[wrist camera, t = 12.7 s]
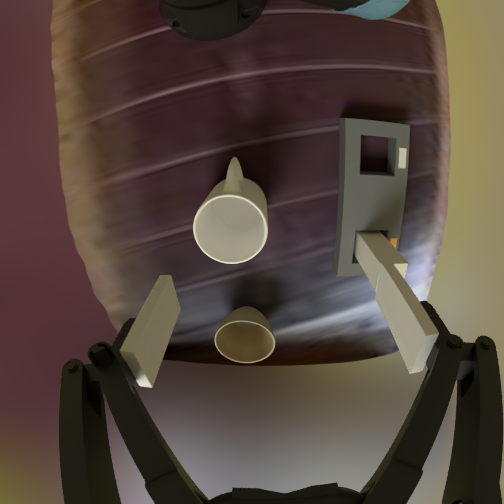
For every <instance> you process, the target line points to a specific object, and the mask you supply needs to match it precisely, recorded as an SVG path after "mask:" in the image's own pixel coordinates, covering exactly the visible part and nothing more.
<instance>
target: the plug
mask: <svg viewBox="0 0 504 504" xmlns="http://www.w3.org/2000/svg"><path fill="white" fill-rule="evenodd" d="M353 254H354V255H355V257H356V259H357V260H358V262H359V264H360V265H361V267H362V269H363V270H364V272H365V274H366V276H367V277H368V279H369V281H370V283H371V285H372V286H373V288H374V290H375V292H376V291H377V285H378V279H379V273H380V266H381V262H392V263H393V264H394V265H395V267H396V268H397V270H398V271H399V272H400V274H401V275H402V277H403V278H404V279H405V274H406V270H407V266H408V263H407V261H406V260H405V259H404V258H403V257H402V256H401V254H400V253H399V252H398V251H397V250H396V249H395V248H394V246H393V245H392V244H391V243H390V242H389V241H388V240H387V239H386V237H385V236H384V235H383V234H382V233H381V232H380V231H379V230H357V231H355V241H354V250H353Z"/></svg>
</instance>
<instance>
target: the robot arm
mask: <svg viewBox="0 0 504 504" xmlns="http://www.w3.org/2000/svg"><path fill="white" fill-rule="evenodd" d="M265 1H266V0H159V10H160V13H161V16H162V18H163V19H164V21H165V22H166V23H167V25H169V26H170V27H171V28H172V29H173V30H174V31H175V32H177V33H178V34H180V35H182V36H184V37H187V38H191V39H195V40H217V39H223V38H226V37H230V36H232V35H235V34H237V33H239V32H241V31H243V30H244V29H246V28H247V27H249V26H250V25H251V24H252V23H254V22H255V21H256V19H257V18H258V17H259V16H260V14H261V13H262V11H263V8H264V6H265ZM299 1H304V2H308V3H312V4H316V5H320V6H324V7H328V8H330V9H331V10H332V11H335V12H338V13H348V14H352V15H355V16H358V17H361V18H364V19H369V20H374V19H375V20H378V19H384V18H387V17H390V16H392V15H394V14H395V13H397V12H398V11H400V10H401V9H402V8H403V7H404V6H405V5H406V4H407V3H408V2H409V1H410V0H299ZM375 299H376V301H377V303H378V305H379V307H380V309H381V311H382V313H383V315H384V317H385V319H386V322H387V324H388V326H389V328H390V330H391V332H392V334H393V337H394V339H395V341H396V343H397V346H398V348H399V350H400V352H401V355H402V357H403V359H404V362H405V364H406V366H407V369H408V371H409V373H410V374H411V373H415V372H420V371H422V370H423V368H424V365H425V364H426V365H427V367H428V371H427V372H426V374H425V376H424V378H423V380H422V384H421V387H420V389H419V392H418V394H417V396H416V398H415V401H414V403H413V405H412V407H411V409H410V411H409V414H408V415H407V417H406V419H405V421H404V423H403V425H402V427H401V429H400V431H399V433H398V435H397V437H396V439H395V440H394V442H393V444H392V445H391V448H390V449H389V451H388V453H387V454H386V456H385V458H384V459H383V461H382V462H381V464H380V466H379V467H378V469H377V470H376V472H375V473H374V475H373V476H372V477H371V479H370V480H369V481H368V482H367V484H366V485H365V486H364V488H363V489H362V490H361V492H360V493H359V492H357V491H355V490H352V489H349V488H344V487H338V485H337V483H331V484H324V485H315V486H310V487H307V488H303V489H300V490H297V491H293V492H290V493H279V492H273V491H268V490H263V489H258V488H233V490H232V492H229V493H225V494H221V495H219V496H216V497H214V498H212V499H211V500H208V498H207V497H206V496H205V495H204V494H203V492H202V491H201V490H200V489H199V488H198V487H197V486H196V485H195V483H194V482H193V481H192V479H191V478H190V477H189V475H188V474H187V472H186V471H185V470H184V468H183V467H182V465H181V464H180V463H179V461H178V460H177V458H176V457H175V455H174V454H173V452H172V451H171V449H170V448H169V446H168V445H167V443H166V441H165V440H164V438H163V437H162V435H161V433H160V432H159V430H158V428H157V427H156V425H155V423H154V422H153V420H152V418H151V416H150V415H149V413H148V411H147V409H146V407H145V406H144V404H143V402H142V400H141V398H140V396H139V394H138V392H137V391H136V389H135V387H134V383H135V380H136V381H137V382H138V384H139V386H143V387H151V388H152V387H153V384H154V382H155V379H156V376H157V373H158V370H159V367H160V364H161V361H162V359H163V356H164V353H165V350H166V347H167V345H168V342H169V339H170V336H171V334H172V331H173V328H174V326H175V323H176V320H177V318H178V315H179V312H180V310H181V309H180V306H179V302H178V299H177V295H176V292H175V288H174V285H173V281H172V277H171V275H160V276H159V278H158V280H157V282H156V283H155V285H154V287H153V289H152V290H151V292H150V294H149V296H148V298H147V299H146V301H145V303H144V305H143V307H142V309H141V310H140V312H139V314H138V316H137V318H130V319H129V320H128V321H127V322H125V323H124V325H123V326H122V328H121V330H120V332H119V334H118V337H117V338H116V339H115V341H114V343H113V345H112V347H111V346H110V345H109V344H108V343H106V342H99V343H96V344H94V345H93V346H92V347H91V348H90V349H89V351H88V357H89V359H90V360H91V362H92V364H86V365H83V363H82V362H81V361H80V360H79V359H72V360H69V361H68V362H67V363H66V364H65V365H64V366H63V369H62V378H61V391H60V410H59V448H60V466H61V478H62V487H63V495H64V502H65V504H121V501H120V497H119V493H118V489H117V484H116V479H115V475H114V470H113V464H112V459H111V453H110V447H109V440H108V433H107V424H106V415H105V404H104V399H106V400H107V402H108V405H109V408H110V410H111V413H112V415H113V417H114V420H115V422H116V424H117V427H118V429H119V431H120V433H121V435H122V437H123V439H124V442H125V444H126V446H127V448H128V450H129V452H130V454H131V456H132V458H133V460H134V462H135V464H136V465H137V467H138V469H139V471H140V472H141V475H142V476H143V478H144V479H145V482H146V483H145V487H146V490H147V491H148V493H149V495H150V496H151V498H152V500H153V501H154V503H155V504H406V503H407V502H408V500H409V498H410V496H411V495H412V493H413V491H414V489H415V488H416V486H417V484H418V482H419V480H420V478H421V476H422V473H423V471H422V467H423V465H424V463H425V461H426V459H427V457H428V454H429V452H430V450H431V448H432V446H433V443H434V441H435V439H436V436H437V434H438V431H439V429H440V426H441V424H442V421H443V418H444V416H445V413H446V410H447V407H448V404H449V401H450V398H451V395H452V392H453V388H454V385H455V381H456V380H457V406H456V420H455V431H454V440H453V447H452V454H451V460H450V466H449V471H448V476H447V481H446V485H445V490H444V495H443V499H442V504H502V498H501V490H500V484H499V481H500V473H501V464H502V448H503V406H502V392H501V381H500V372H499V365H498V358H497V352H496V346H495V343H494V342H493V340H492V339H491V338H489V337H487V336H480V337H478V338H477V339H476V341H475V343H465V342H463V341H462V339H461V338H460V337H458V336H456V335H453V334H450V332H449V331H448V329H447V328H446V326H445V324H444V323H443V321H442V320H441V318H439V315H438V314H437V313H436V311H435V309H434V308H433V306H432V305H431V304H429V303H428V302H427V301H421V302H419V300H418V299H417V297H416V296H415V294H414V293H413V291H412V290H411V288H410V287H409V285H408V284H407V282H406V281H405V279H404V278H403V277H402V275H401V274H400V272H399V271H398V270H397V268H396V267H395V265H394V264H393V263H392V262H381V266H380V273H379V279H378V285H377V291H376V296H375Z"/></svg>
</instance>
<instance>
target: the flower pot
mask: <svg viewBox="0 0 504 504" xmlns="http://www.w3.org/2000/svg"><path fill="white" fill-rule="evenodd" d="M215 345H216V347H217V349H218V350H219V352H220V353H221V354H222V355H224V356H225V357H227V358H229V359H231V360H233V361H237V362H242V363H252V362H257V361H260V360H263V359H265V358H266V357H268V356H269V355H270V354H271V353H272V352H273V350H274V347H275V338H274V334H273V331H272V328H271V326H270V324H269V322H268V321H267V319H266V318H265V317H264V315H263V314H262V313H261V312H259V311H258V310H257V309H255V308H253V307H250V306H244V307H240V308H238V309H236V310H234V311H233V312H231V313H230V314H229V315H228V316H227V317H226V318H225V319H224V320H223V322H222V323H221V325H220V326H219V328H218V330H217V332H216V335H215Z"/></svg>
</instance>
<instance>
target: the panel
mask: <svg viewBox="0 0 504 504" xmlns="http://www.w3.org/2000/svg"><path fill="white" fill-rule="evenodd" d="M361 135H369V136H380V137H388V156H387V172H374V171H360V149H361ZM409 138H410V125H405V124H398V123H391V122H383V121H374V120H364V119H352V118H340V161H339V193H338V213H337V228H336V242H335V253H334V264H333V268H334V270H335V273H336V275H337V277H338V276H360V275H366V274H365V272H364V270H363V269H362V267H361V265H360V264H359V262H358V260H357V259H356V257H355V255H353V250H354V241H355V231H357V230H381V233H382V234H383V235H384V236H385V237H386V239H387V240H388V241H389V242H390V243H391V244H392V245H393V246H394V248H395V249H396V250H398V245H399V239H400V233H401V226H402V219H403V212H404V204H405V196H406V186H407V175H408V160H409Z"/></svg>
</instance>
